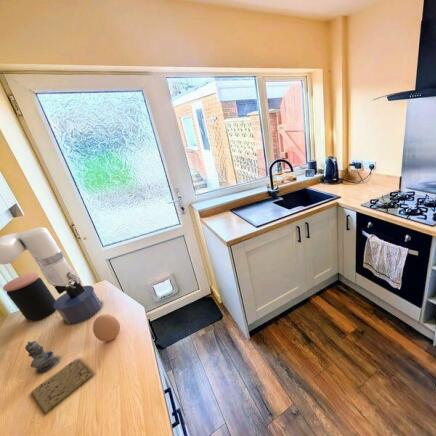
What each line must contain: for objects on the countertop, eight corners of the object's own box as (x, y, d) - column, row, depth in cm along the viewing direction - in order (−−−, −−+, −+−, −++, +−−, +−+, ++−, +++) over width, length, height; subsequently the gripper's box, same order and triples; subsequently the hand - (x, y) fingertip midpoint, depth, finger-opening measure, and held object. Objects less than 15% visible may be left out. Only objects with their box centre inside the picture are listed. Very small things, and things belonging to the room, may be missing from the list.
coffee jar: (54, 301, 116) (33, 270, 108) (63, 308, 110) (41, 276, 103) (24, 317, 108) (-1, 285, 100) (32, 325, 102) (6, 292, 95)
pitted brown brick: (31, 393, 76) (29, 391, 75) (77, 359, 85) (75, 358, 84) (44, 414, 70) (43, 412, 69) (92, 375, 79) (91, 373, 78)
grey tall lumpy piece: (31, 372, 82) (10, 348, 77) (50, 356, 87) (32, 332, 82) (44, 375, 81) (23, 351, 76) (62, 358, 86) (44, 335, 81)
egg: (125, 337, 91) (113, 316, 87) (101, 350, 87) (87, 329, 83) (122, 325, 97) (111, 305, 92) (99, 337, 93) (86, 316, 88)
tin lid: (46, 309, 99) (37, 297, 96) (79, 286, 111) (72, 275, 108) (70, 312, 95) (62, 300, 93) (102, 289, 107) (96, 277, 104)
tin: (58, 322, 103) (47, 307, 99) (87, 300, 113) (78, 286, 110) (80, 326, 99) (70, 310, 96) (108, 303, 110) (99, 288, 107)
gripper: (23, 263, 93) (47, 297, 101) (55, 265, 89) (78, 301, 96) (45, 252, 100) (66, 284, 107) (76, 254, 95) (96, 288, 103)
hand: (72, 292), depth 102 cm, fingers open, 9 cm apart
